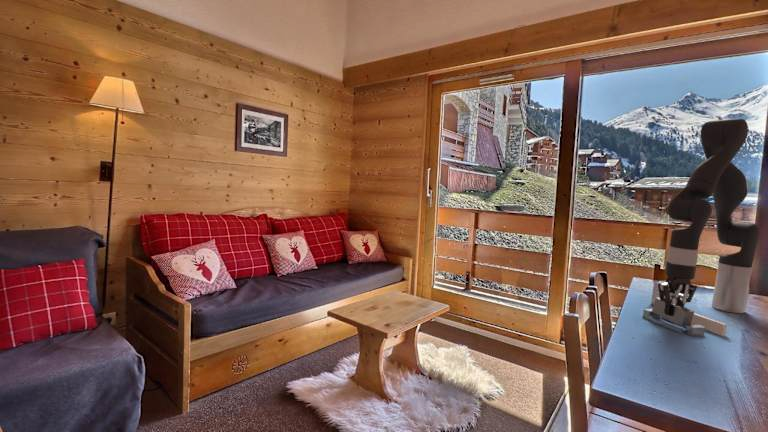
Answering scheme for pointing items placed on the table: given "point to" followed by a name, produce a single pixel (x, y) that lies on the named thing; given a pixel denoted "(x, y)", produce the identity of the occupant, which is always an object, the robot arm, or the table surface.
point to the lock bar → (674, 313)
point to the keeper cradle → (690, 329)
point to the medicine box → (657, 292)
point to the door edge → (710, 324)
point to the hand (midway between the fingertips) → (673, 314)
